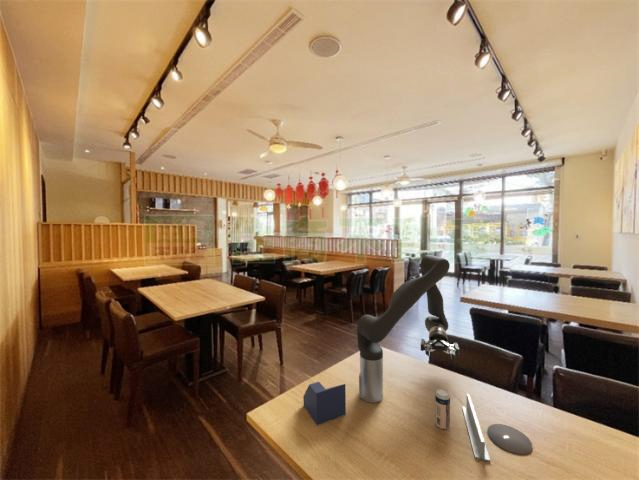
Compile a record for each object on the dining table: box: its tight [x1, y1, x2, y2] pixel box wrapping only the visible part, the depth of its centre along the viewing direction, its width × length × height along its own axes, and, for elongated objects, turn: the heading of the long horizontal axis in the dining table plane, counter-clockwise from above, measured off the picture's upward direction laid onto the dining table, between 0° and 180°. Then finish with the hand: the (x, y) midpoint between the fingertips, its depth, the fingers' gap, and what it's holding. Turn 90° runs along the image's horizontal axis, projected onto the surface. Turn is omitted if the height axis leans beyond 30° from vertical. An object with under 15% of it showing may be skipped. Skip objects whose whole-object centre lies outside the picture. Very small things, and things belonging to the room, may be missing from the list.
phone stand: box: [302, 381, 347, 426], centre depth 105 cm, size 12×12×12 cm
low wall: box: [461, 393, 491, 464], centre depth 93 cm, size 4×24×6 cm, turn 161°
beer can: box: [434, 388, 451, 430], centre depth 96 cm, size 5×5×12 cm
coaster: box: [486, 423, 533, 455], centre depth 90 cm, size 12×12×1 cm
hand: (440, 355), depth 105 cm, fingers open, 8 cm apart
